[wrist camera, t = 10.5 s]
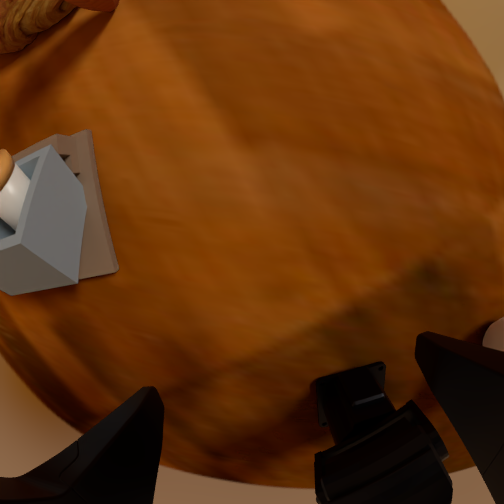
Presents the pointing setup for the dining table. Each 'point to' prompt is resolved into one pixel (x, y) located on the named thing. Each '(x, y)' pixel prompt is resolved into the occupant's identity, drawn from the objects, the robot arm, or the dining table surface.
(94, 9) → the carrot
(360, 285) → the dining table surface
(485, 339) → the sauce bottle
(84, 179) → the leaning socket
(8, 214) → the orange-topped white peg
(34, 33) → the croissant
